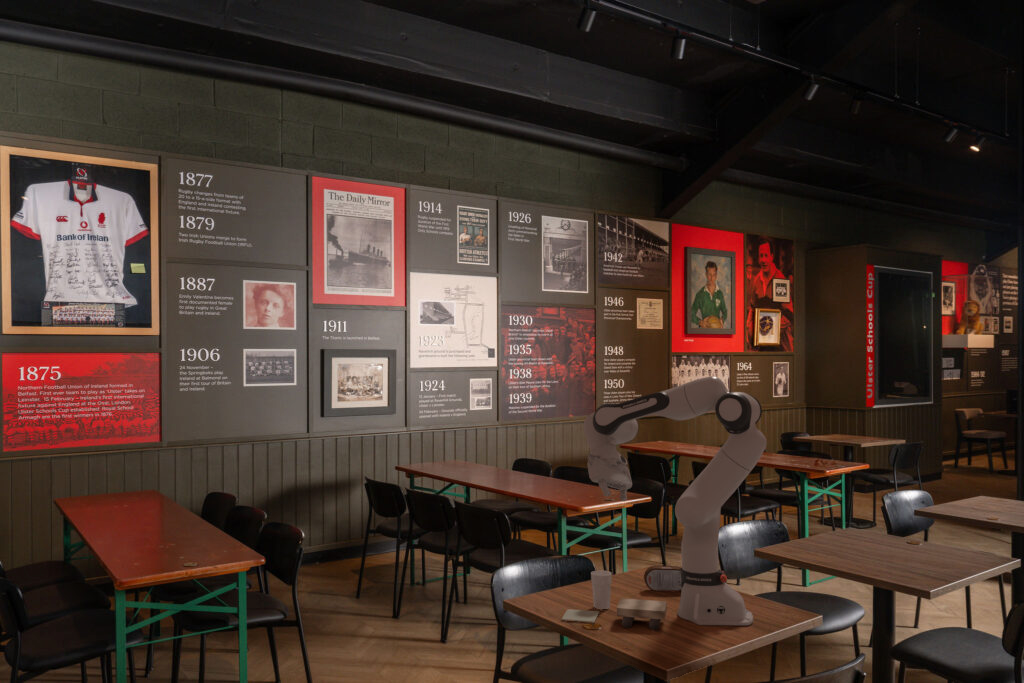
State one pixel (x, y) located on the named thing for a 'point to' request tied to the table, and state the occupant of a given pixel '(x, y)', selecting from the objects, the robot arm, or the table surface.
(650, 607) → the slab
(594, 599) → the cup
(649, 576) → the tin
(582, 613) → the pad
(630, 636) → the table surface
